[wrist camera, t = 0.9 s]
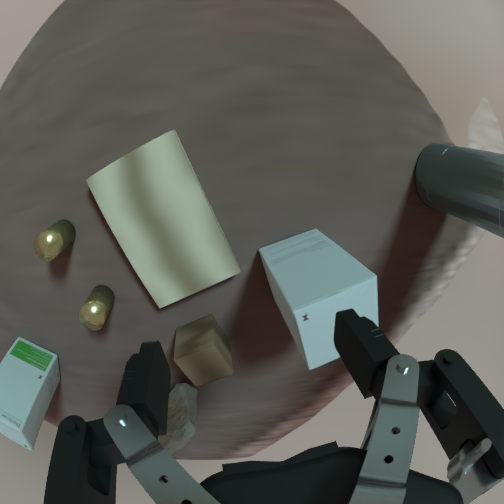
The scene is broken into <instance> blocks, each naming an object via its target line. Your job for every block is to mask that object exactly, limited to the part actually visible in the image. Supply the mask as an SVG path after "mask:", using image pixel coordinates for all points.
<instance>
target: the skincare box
mask: <svg viewBox="0 0 504 504" xmlns="http://www.w3.org/2000/svg"><path fill="white" fill-rule="evenodd" d="M59 381H60V372H59V364H58V356H57V354H55V353H52V352H50V351H48V350H46V349H44V348H41V347H39V346H37V345H35V344H33V343H31V342H29V341H27V340H25V339H23V338H21V337H18V338H17V340H16V341H15V342H14V344H13V345H12V347H11V348H10V350H9V351H8V353H7V354H6V356H5V357H4V359H3V360H2V362H1V363H0V433H2V434H3V435H5V436H6V437H7V438H9V439H11V440H13V441H15V442H17V443H18V444H20V445H22V446H24V447H25V448H27V449H29V450H31V451H33V450H34V444H35V442H36V438H37V436H38V432H39V430H40V427H41V424H42V422H43V419H44V417H45V414H46V412H47V409H48V407H49V404H50V402H51V399H52V397H53V395H54V392H55V390H56V388H57V386H58V383H59Z"/></svg>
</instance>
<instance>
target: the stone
mask: <svg viewBox="0 0 504 504" xmlns="http://www.w3.org/2000/svg"><path fill="white" fill-rule="evenodd" d="M197 395H198V391H197V390H196V389H195V388H194V387H193V386H190V385H189V384H187V383H177V384H176V385H175V387H174V388H173V389H172V390H171V392H170V393H169V402H168V416H167V433H166V435H158V441H159V443H161V444H162V445H163V447H164V448H165V449H166V450H167V451H168V452H169V453H170V454H171V456H172V455H173V453H174V452H176V451H177V450H179V449H181V448H183V447H184V446H185V445H187V443H188V441H190V440H191V439H192V437H193V435H194V433H195V430H196V428H197V414H196V413H197V400H196V397H197Z"/></svg>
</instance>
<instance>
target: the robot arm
mask: <svg viewBox="0 0 504 504" xmlns="http://www.w3.org/2000/svg"><path fill="white" fill-rule="evenodd" d="M415 180H416V187H417V191H418V193H419V196H420V198H421V199H422V201H423V202H424V203H425V204H426V205H428V206H431V207H433V208H436V209H438V210H441V211H443V212H446V213H448V214H450V215H453V216H455V217H458V218H460V219H462V220H465V221H467V222H469V223H472V224H474V225H476V226H479V227H481V228H483V229H485V230H487V231H489V232H492V233H494V234H496V235H498V236H500V237H502V238H504V155H503V154H498V153H493V152H488V151H483V150H477V149H471V148H464V147H458V146H452V145H444V144H431V145H429V146H427V147H426V148H425V149H424V150H423V151H422V153H421V155H420V157H419V159H418V162H417V166H416V174H415ZM334 345H335V348H336V350H337V352H338V354H339V355H340V357H341V359H342V360H343V362H344V364H345V365H346V367H347V369H348V371H349V372H350V374H351V376H352V377H353V379H354V381H355V383H356V384H357V386H358V388H359V390H360V391H361V393H362V394H363V396H364V398H365V399H366V398H368V397H371V396H374V398H375V399H376V400H375V403H374V407H373V410H372V414H371V417H370V421H369V424H368V428H367V431H366V434H365V437H364V440H363V442H362V445H361V447H360V449H359V448H354V447H338V445H337V443H336V441H334V442H331V443H328V444H324V445H321V446H318V447H314V448H310V449H308V450H306V451H304V452H302V453H300V454H298V455H295V456H293V457H291V458H289V459H287V460H285V461H281V462H268V461H267V462H266V461H246V462H238V463H230V464H222V467H223V471H221V472H218V473H216V474H213V475H211V476H210V477H208V478H206V479H205V480H204V481H202V482H201V483H200V484H198V482H196V481H195V480H194V479H193V478H192V477H191V476H190V475H189V474H188V473H187V472H186V471H185V469H183V467H182V466H181V465H179V463H178V462H177V461H176V460H175V459H174V458H173V457H172V456H171V454H170V453H169V452H168V451H167V450H166V449H165V448H164V447H163V445H162V444H161V443H159V441H158V435H166V433H167V416H168V402H169V389H170V378H171V375H170V368H169V365H168V362H167V359H166V357H165V354H164V352H163V349H162V347H161V344H160V342H159V341H150V342H142V344H141V348H140V352H139V354H133V355H132V356H131V358H130V359H129V360H128V361H127V364H126V368H125V372H124V375H123V380H122V383H121V387H120V390H119V395H118V399H117V403H116V406H113V407H111V408H110V409H109V410H108V411H107V412H106V413H105V415H104V418H102V419H98V420H94V421H90V422H85V421H84V420H83V419H82V418H81V417H80V416H76V415H72V416H68V417H66V418H65V419H63V420H62V421H61V423H60V424H59V427H58V431H57V435H56V439H55V443H54V447H53V451H52V456H51V461H50V466H49V471H48V476H47V482H46V489H45V496H44V504H115V503H116V499H115V498H116V474H117V464H121V463H125V462H126V464H127V466H128V468H129V469H130V470H131V472H132V473H133V475H134V476H135V477H136V479H137V480H138V481H139V483H140V484H141V485H142V486H143V488H144V489H145V491H146V492H147V493H148V494H149V496H150V497H151V498H152V499H153V500H154V502H155V503H156V504H469V503H470V502H471V501H473V500H474V499H476V498H477V497H478V496H480V495H481V494H483V493H485V492H486V491H488V490H489V489H491V488H492V487H494V486H495V485H496V484H498V483H499V482H501V481H502V480H503V479H504V409H503V408H502V407H501V405H500V404H499V403H498V401H497V400H496V399H495V397H494V396H493V395H492V393H491V392H490V391H489V390H488V388H487V387H486V386H485V385H484V384H483V382H482V381H481V379H480V378H479V377H478V376H477V375H476V373H475V372H474V371H473V370H472V369H471V367H470V366H469V365H468V364H467V363H466V361H465V360H464V359H463V358H462V357H461V356H460V355H459V354H458V353H457V352H455V351H453V350H450V349H444V350H441V351H439V352H438V353H437V354H436V356H435V358H434V360H429V361H420V362H417V360H416V359H415V358H413V357H412V356H409V355H405V354H400V353H399V352H398V351H397V349H396V348H395V347H394V346H393V345H392V343H391V342H390V341H389V340H388V339H387V337H386V336H385V335H383V333H382V331H381V330H380V329H379V328H378V327H377V325H376V324H375V323H374V322H373V321H372V320H370V319H368V318H366V317H365V316H363V317H360V316H359V315H358V314H357V313H356V312H355V310H354V309H352V308H351V309H347V310H343V311H338V312H337V313H336V315H335V327H334ZM447 393H448V394H449V396H450V397H451V399H452V400H453V402H454V403H455V405H456V406H455V405H454V403H453V402H452V400H451V399H450V397H449V396H448V395H447ZM420 409H421V411H422V412H423V414H424V416H425V418H426V419H427V421H428V423H429V424H430V426H431V428H432V429H433V431H434V433H435V435H436V436H437V438H438V440H439V441H440V443H441V445H442V447H443V449H444V451H445V452H446V454H447V456H448V458H449V459H450V462H449V464H448V467H447V471H448V474H447V478H448V479H449V483H448V482H445V481H442V480H439V479H436V478H433V477H430V476H427V475H424V474H421V473H419V472H416V471H413V470H411V469H409V468H410V463H411V459H412V454H413V449H414V443H415V438H416V432H417V425H418V418H419V410H420Z"/></svg>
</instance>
